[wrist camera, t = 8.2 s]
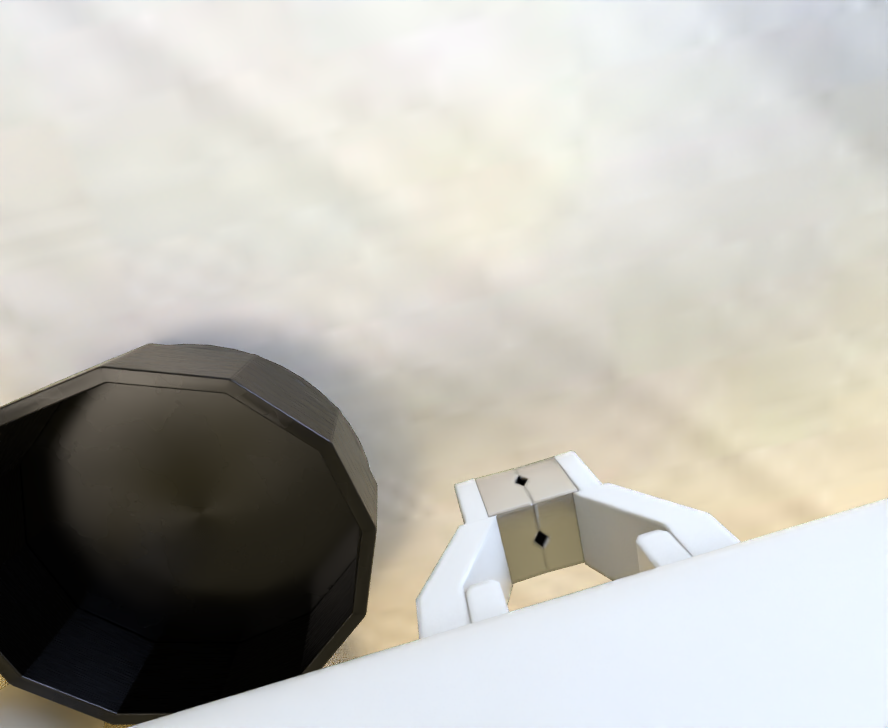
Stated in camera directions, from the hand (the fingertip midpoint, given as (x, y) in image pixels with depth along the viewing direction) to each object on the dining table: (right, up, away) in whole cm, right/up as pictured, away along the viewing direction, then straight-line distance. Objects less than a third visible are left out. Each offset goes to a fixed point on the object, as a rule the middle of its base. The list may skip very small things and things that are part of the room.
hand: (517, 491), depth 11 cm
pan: (-10, -6, +8) cm, 14 cm away
